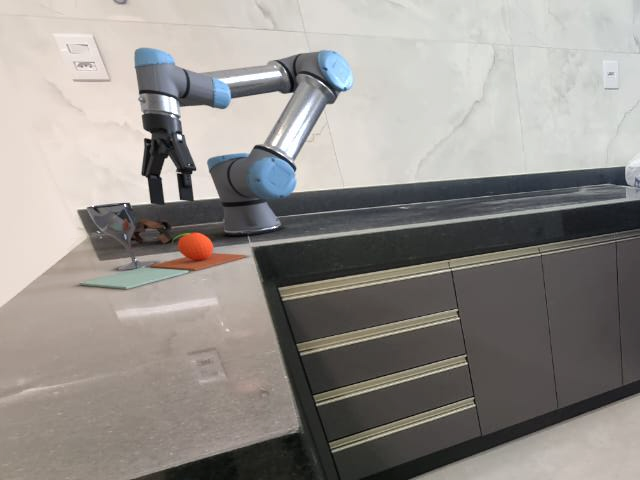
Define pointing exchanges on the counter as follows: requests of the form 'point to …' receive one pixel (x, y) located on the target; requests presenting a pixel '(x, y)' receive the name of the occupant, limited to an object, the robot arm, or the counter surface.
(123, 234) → the wine glass
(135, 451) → the counter surface
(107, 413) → the counter surface
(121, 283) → the glass mat
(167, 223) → the brown segmented ring
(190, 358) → the counter surface
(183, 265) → the fruit mat
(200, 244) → the clementine
